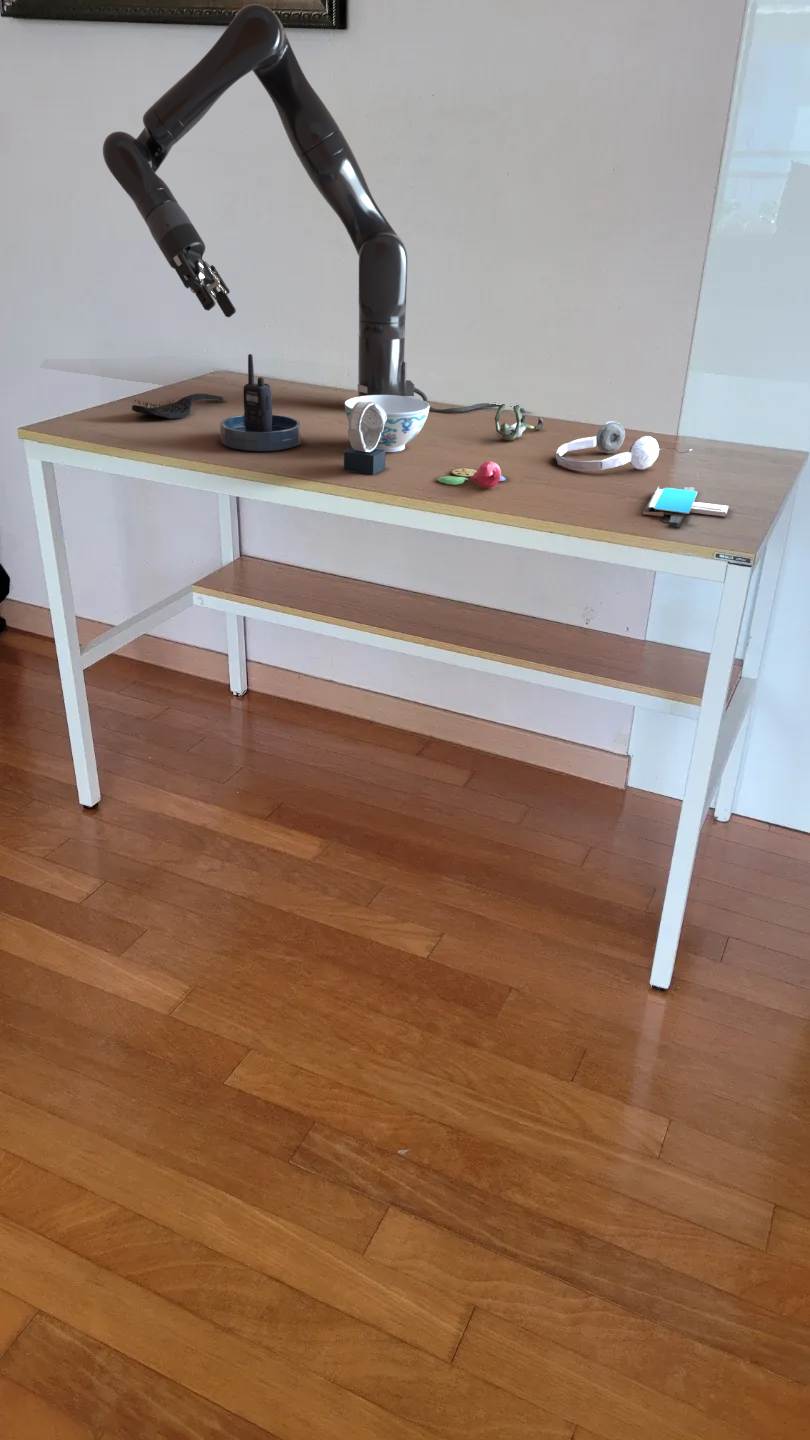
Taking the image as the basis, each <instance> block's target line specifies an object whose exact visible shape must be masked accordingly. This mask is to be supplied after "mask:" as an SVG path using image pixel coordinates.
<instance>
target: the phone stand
mask: <svg viewBox="0 0 810 1440" xmlns="http://www.w3.org/2000/svg"><path fill="white" fill-rule="evenodd" d="M697 494H698V491H696V490H695V487H692V486H691V487H690V486H684V487H683V489H681V488H672V487H663V489H662V488H660V485H658V487H656V489H655V490H654V491H653V493H652V495H651V497H650V499H649V500H648V501H647V504H646V505H645V508H644V510H643V512H642V515H645V516H651V517H652V516H653V517H661V518H663V520H662V523H666V524H668V527H675V528H680V527H681V525H682V523H683V520H684V518H685V517H686V516H685V515H689V514H691V513H693V514H702V515H709V516H715V517H717V516H718V517H724V518H725V517H726V516H727V514H728V510H729V505H725V504H724V505H723V504H716V503H707V502H700V501H699V502H698V501H695V500H696V497H697ZM687 525H688V526H689V525H690V524H688V523H687Z"/></svg>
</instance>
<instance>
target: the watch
mask: <svg viewBox="0 0 810 1440" xmlns="http://www.w3.org/2000/svg"><path fill="white" fill-rule="evenodd" d="M386 420H387V416H386V413H385V411H384V410H383V408H382V407H380V406H379V405H378V404H376V403H374V402H369V401H367V402H361V401H360V402H357V403H356V404H355V405H354V407H353V409H352V411H351V414H350V419H349V420H348V430H347V433H348V439H349V443H350V446H351V448H349V449H346V450H344V451H343V471H348V472H353V473H360V474H365V475H372V476H374V475H376V474H378V473H380V472H382V471H383V470H386V452H385V450H380V449H375V448H376V446H377V444H378V441H379V439H380V435H381V433H382V432H383V429H384V424H385V422H386ZM361 422H362V423H363V425H364V427H365V430H368V434H367V438H366V440H365V441H364V439H363V434H362V431H361V430H360V426H361ZM354 424H355V425H354ZM376 437H377V438H376Z"/></svg>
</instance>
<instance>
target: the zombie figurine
mask: <svg viewBox="0 0 810 1440" xmlns="http://www.w3.org/2000/svg"><path fill="white" fill-rule="evenodd" d="M519 405H520V404H518V405H516V406H514V407H512V409H513V412H514V413H515V420H516V421H515V422H514V423H512V424H510V425H509V423H507V422H503V423H502V424H501V425H500V412H501V411H503V410H504V409H505V408H506V406H505V404H502V405H500V406H499V407H497V411H496V413H495V415H494V420H495V431H496V433H497V434H498V435H500V436H501V438H502V439H504V440H505V441H510V442H511V441H512V442H513V441H514V440H515V439H517V438H521V437H522V434H523V432H524V431H525V430H527V429H528V430H536V431H542V429H543V427H544V419H543V418H542V417H538V420H537V421H538V422H537V426H536V425H531V424H528V423H527V422H526V419H527V415H526V414H525V413H521V412H520V411H519V410H520V406H521V405H520V406H519Z"/></svg>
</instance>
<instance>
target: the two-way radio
mask: <svg viewBox="0 0 810 1440" xmlns="http://www.w3.org/2000/svg"><path fill="white" fill-rule="evenodd" d="M254 371H255V370H254V358H253V354H252V353H249V354H248V355H247V383H246V384H244V386H243V395H242V396H243V411H244V412H243V415H244V419H245V431H250V432H272V415H273V397H272V390H271V385H270V384H269V383H265V381H264V378H263V377H262V376H260V377H258V378H257V383H255V373H254Z"/></svg>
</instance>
